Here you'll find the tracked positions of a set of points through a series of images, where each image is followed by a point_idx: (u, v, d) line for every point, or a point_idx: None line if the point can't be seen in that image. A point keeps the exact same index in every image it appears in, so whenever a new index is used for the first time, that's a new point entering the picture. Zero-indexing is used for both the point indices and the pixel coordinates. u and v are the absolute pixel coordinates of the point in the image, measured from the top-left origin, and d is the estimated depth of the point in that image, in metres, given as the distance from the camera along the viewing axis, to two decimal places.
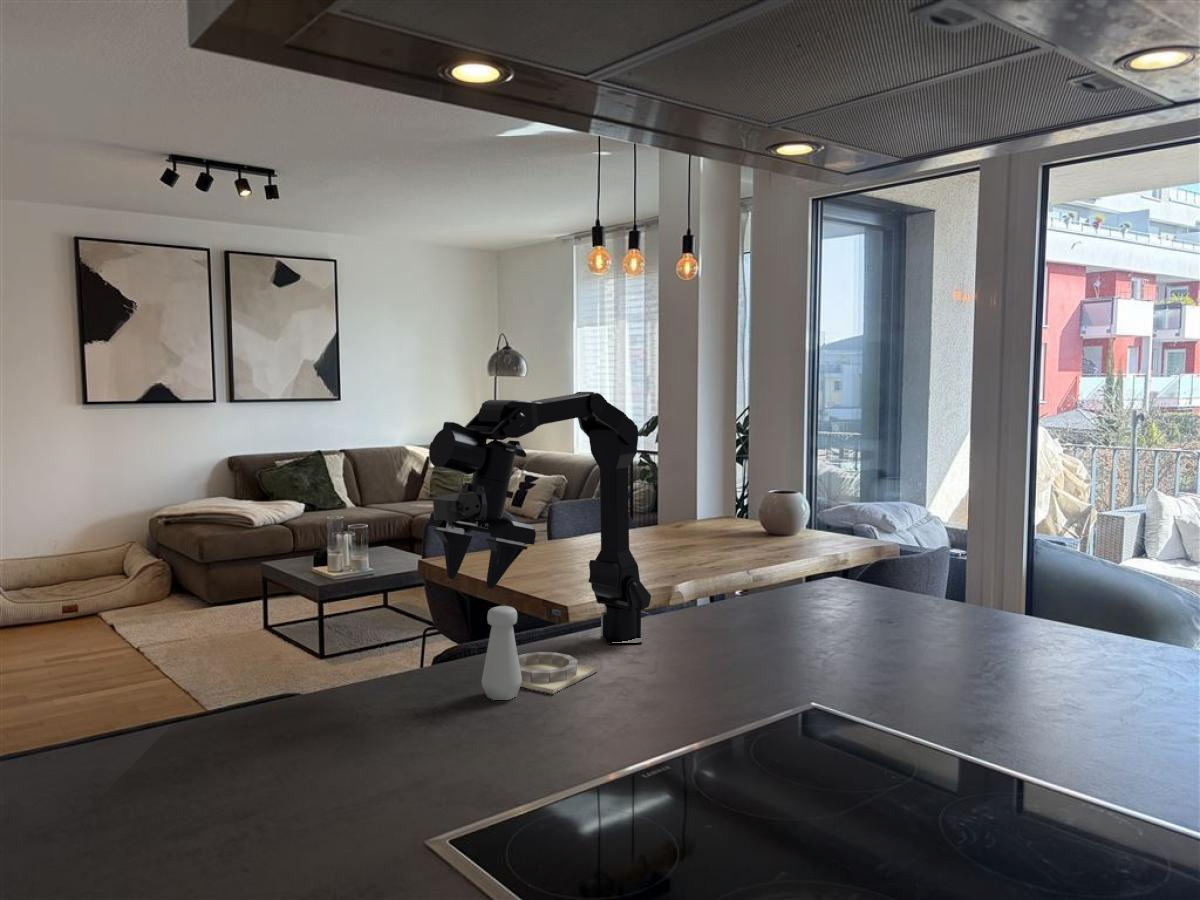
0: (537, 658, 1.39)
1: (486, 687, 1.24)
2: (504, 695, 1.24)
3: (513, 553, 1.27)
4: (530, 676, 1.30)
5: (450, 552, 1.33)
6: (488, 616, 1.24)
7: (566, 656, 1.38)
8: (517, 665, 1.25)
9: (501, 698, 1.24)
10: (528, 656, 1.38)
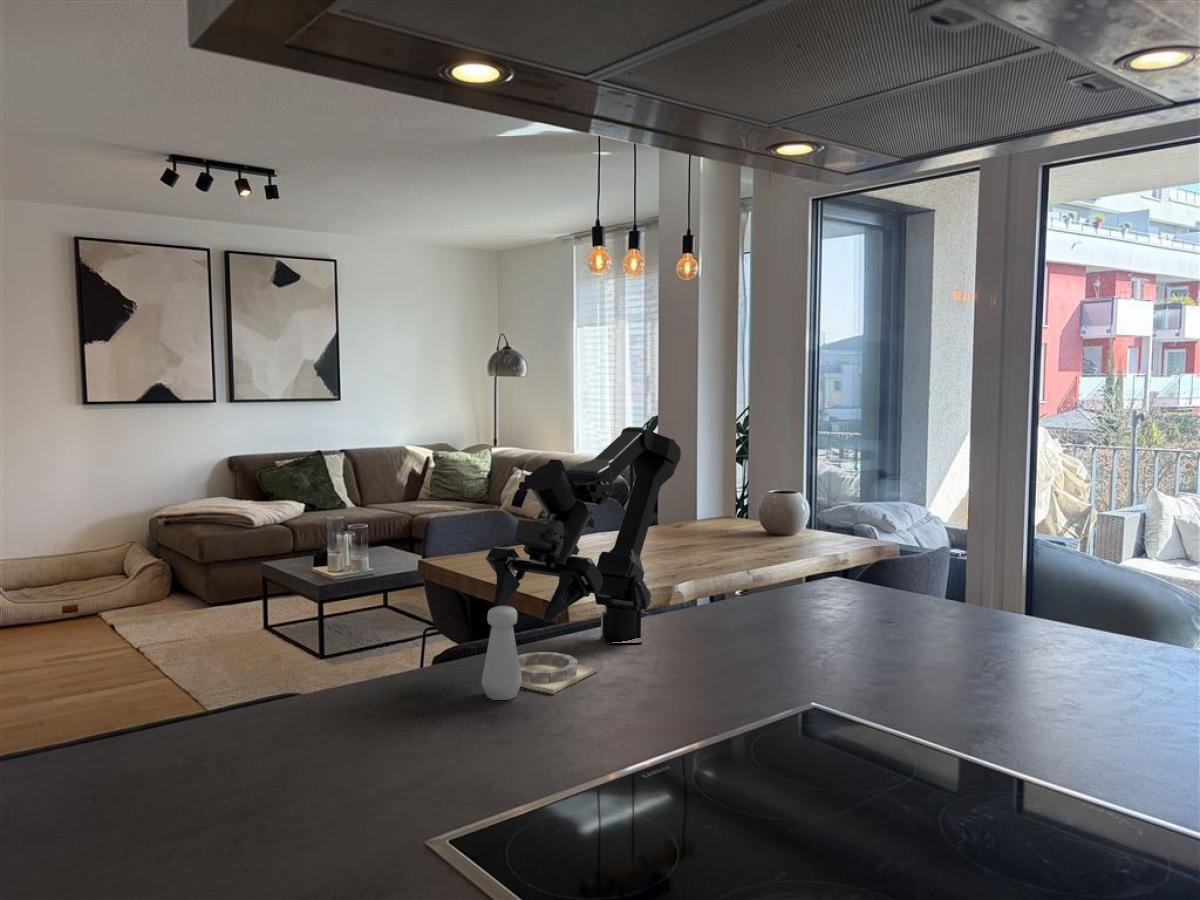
0: (537, 658, 1.39)
1: (486, 687, 1.24)
2: (504, 695, 1.24)
3: (575, 596, 1.30)
4: (530, 676, 1.30)
5: (503, 586, 1.33)
6: (488, 616, 1.24)
7: (566, 656, 1.38)
8: (517, 665, 1.25)
9: (501, 698, 1.24)
10: (528, 656, 1.38)
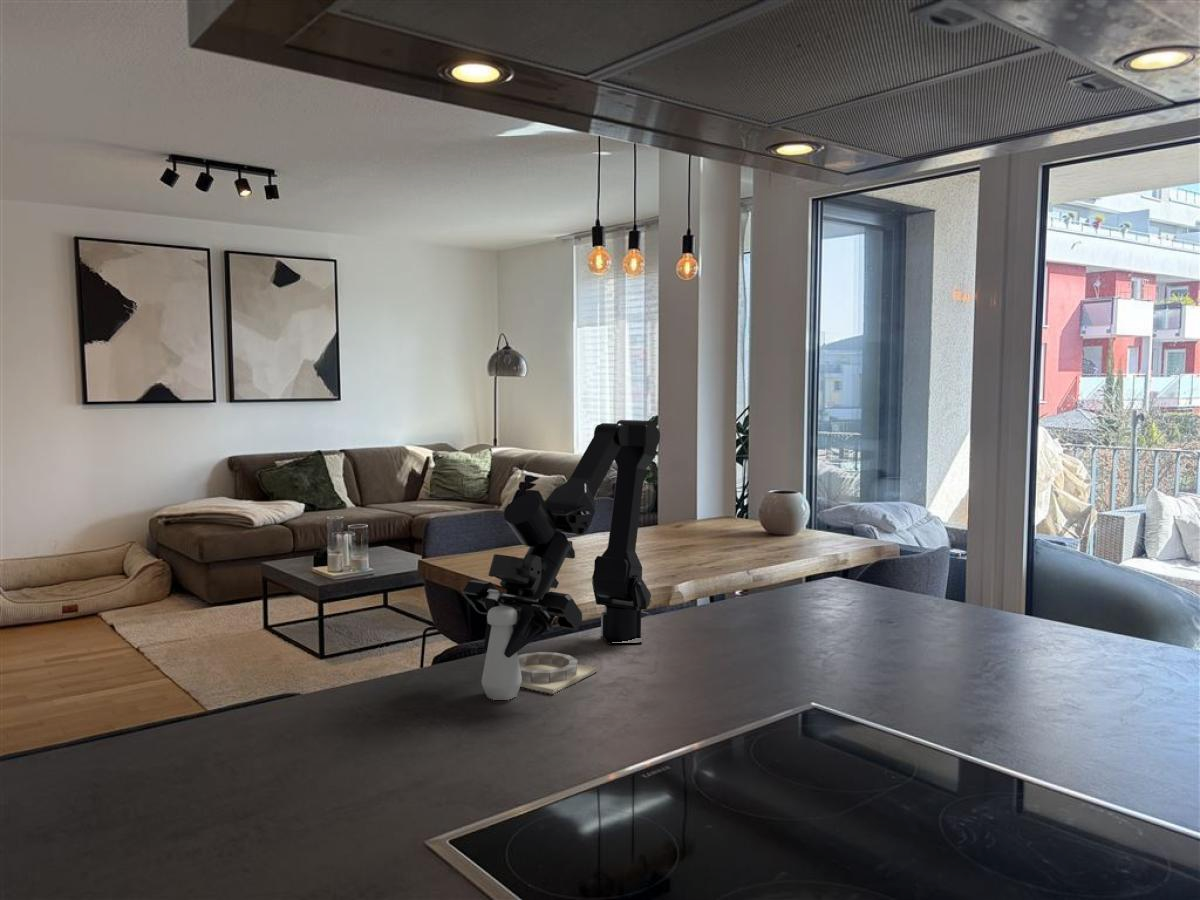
0: (537, 658, 1.39)
1: (486, 687, 1.24)
2: (504, 695, 1.24)
3: (538, 630, 1.27)
4: (530, 676, 1.30)
5: None
6: (488, 616, 1.24)
7: (566, 656, 1.38)
8: (517, 665, 1.25)
9: (501, 698, 1.24)
10: (528, 656, 1.38)
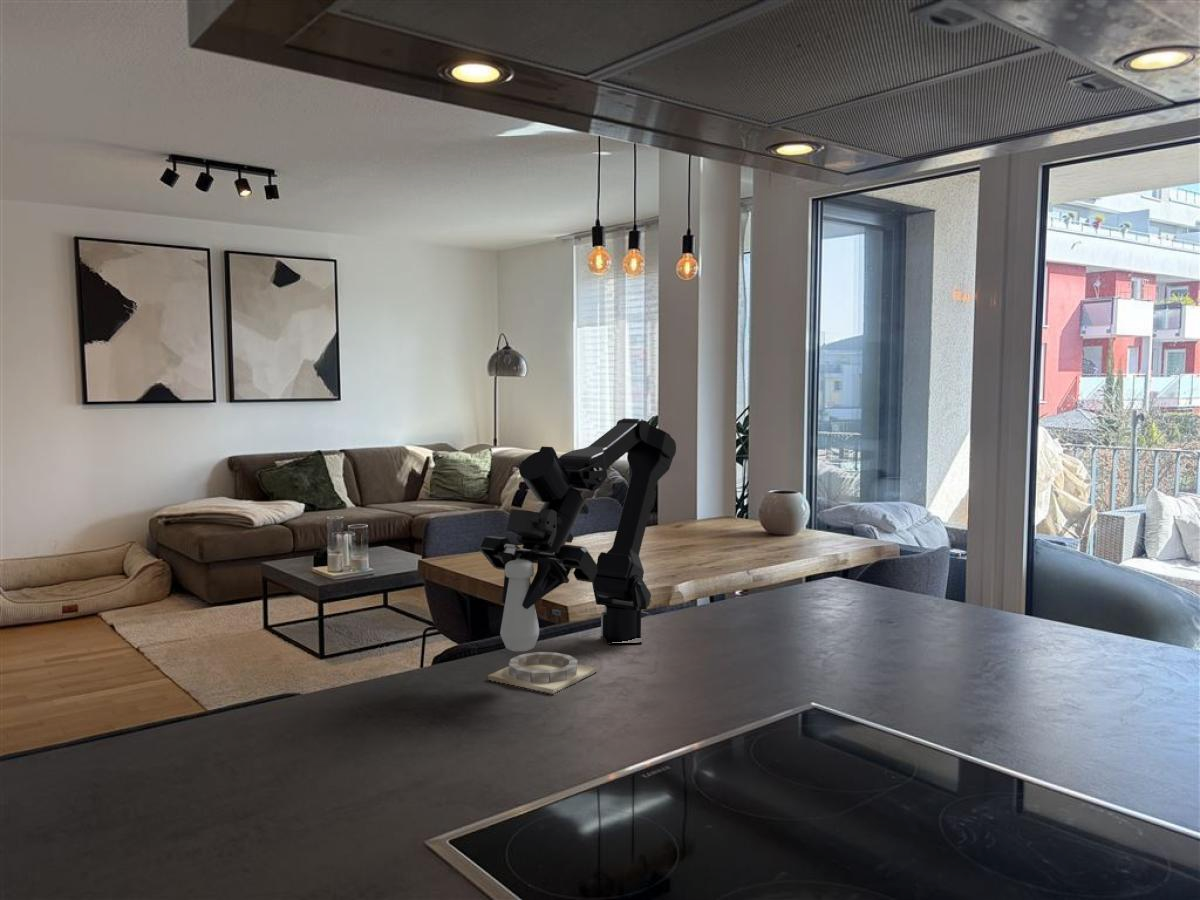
0: (537, 658, 1.39)
1: (505, 638, 1.27)
2: (523, 646, 1.27)
3: (554, 583, 1.30)
4: (530, 676, 1.30)
5: None
6: (506, 569, 1.27)
7: (566, 656, 1.38)
8: (535, 616, 1.28)
9: (520, 648, 1.27)
10: (528, 656, 1.38)
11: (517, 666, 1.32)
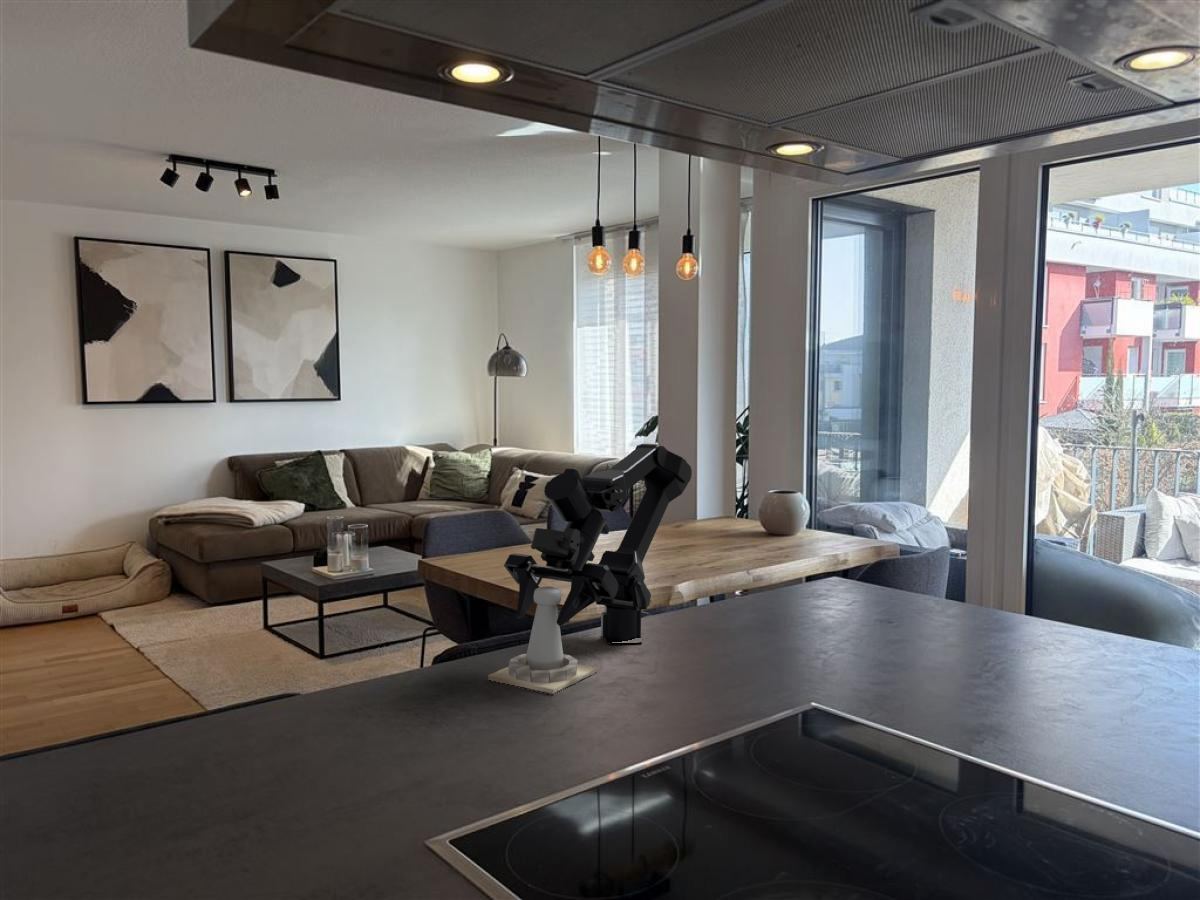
0: None
1: (531, 661, 1.33)
2: (547, 669, 1.33)
3: (587, 601, 1.35)
4: (530, 676, 1.30)
5: (526, 592, 1.37)
6: (534, 595, 1.34)
7: (566, 656, 1.38)
8: (560, 642, 1.34)
9: None
10: None
11: (517, 666, 1.32)
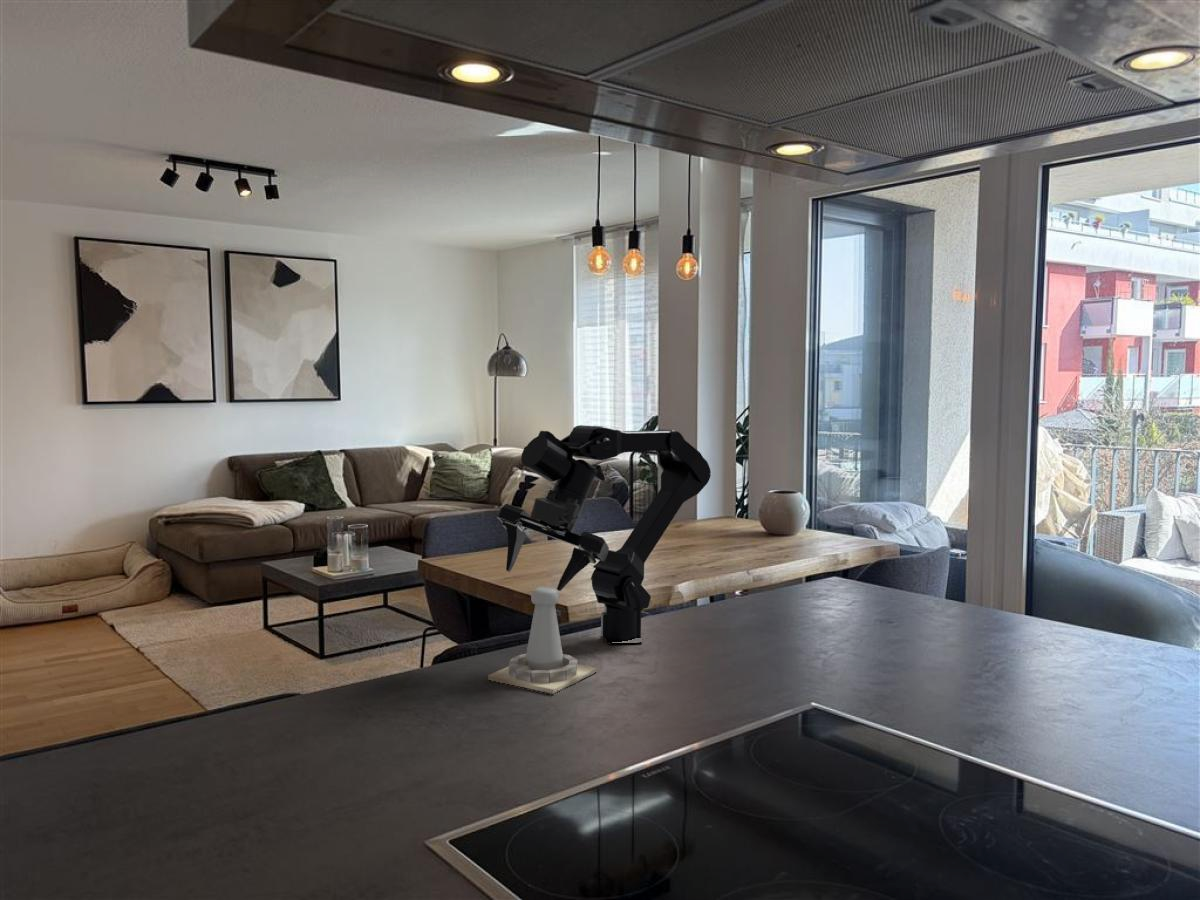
0: None
1: (530, 662, 1.33)
2: None
3: (583, 564, 1.43)
4: (530, 676, 1.30)
5: (515, 547, 1.43)
6: (532, 596, 1.33)
7: (566, 656, 1.38)
8: (559, 642, 1.34)
9: None
10: None
11: (517, 666, 1.32)
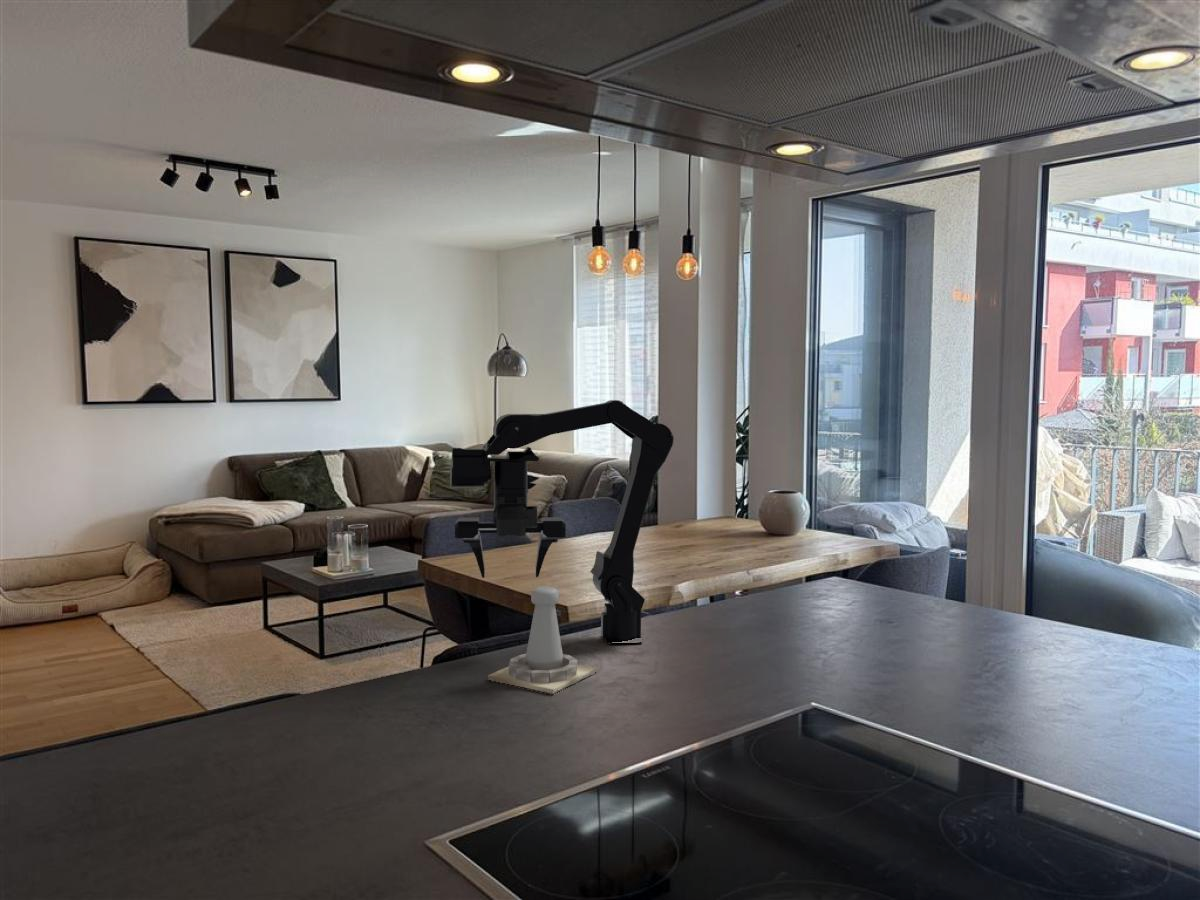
0: None
1: (530, 662, 1.33)
2: None
3: None
4: (530, 676, 1.30)
5: (482, 556, 1.49)
6: (532, 596, 1.33)
7: (566, 656, 1.38)
8: (559, 642, 1.34)
9: None
10: None
11: (517, 666, 1.32)
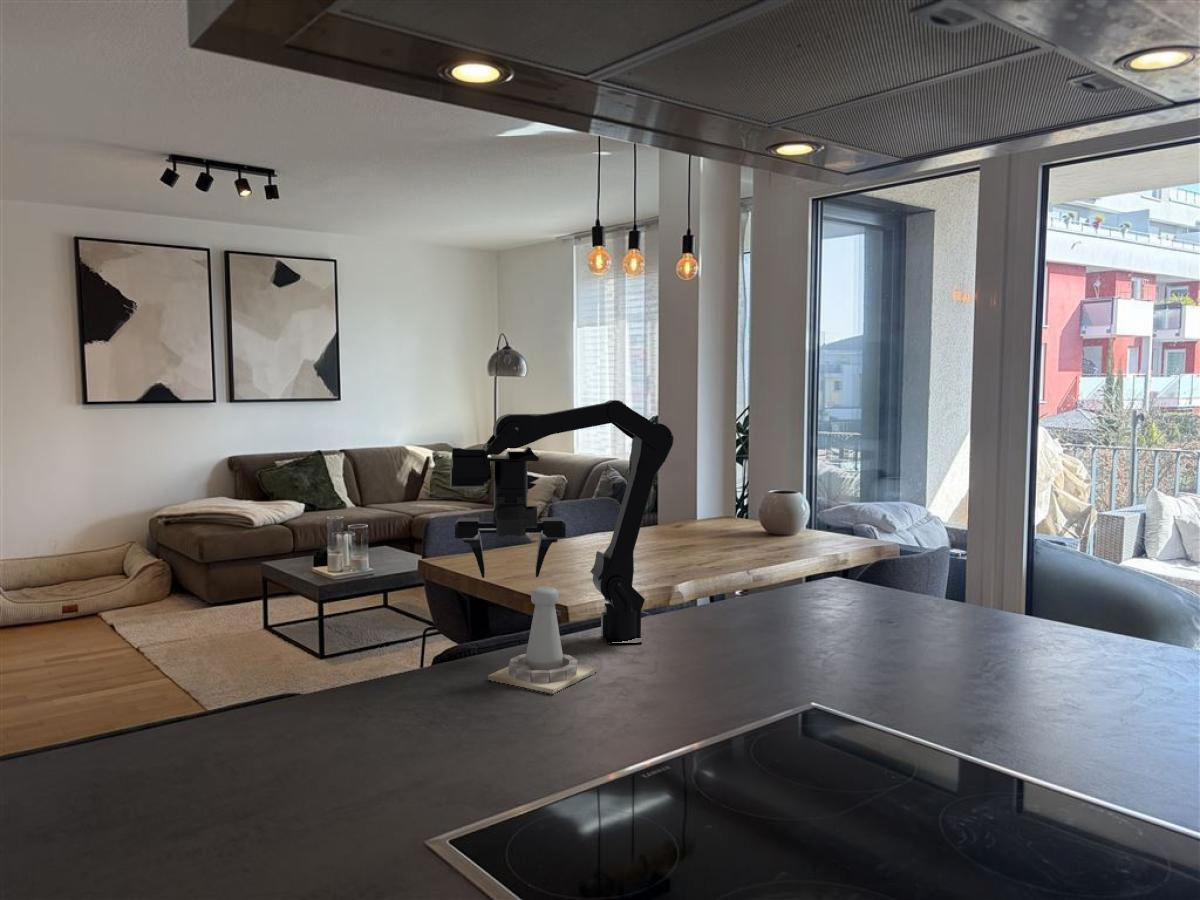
0: None
1: (530, 662, 1.33)
2: None
3: None
4: (530, 676, 1.30)
5: (482, 556, 1.49)
6: (532, 596, 1.33)
7: (566, 656, 1.38)
8: (559, 642, 1.34)
9: None
10: None
11: (517, 666, 1.32)
